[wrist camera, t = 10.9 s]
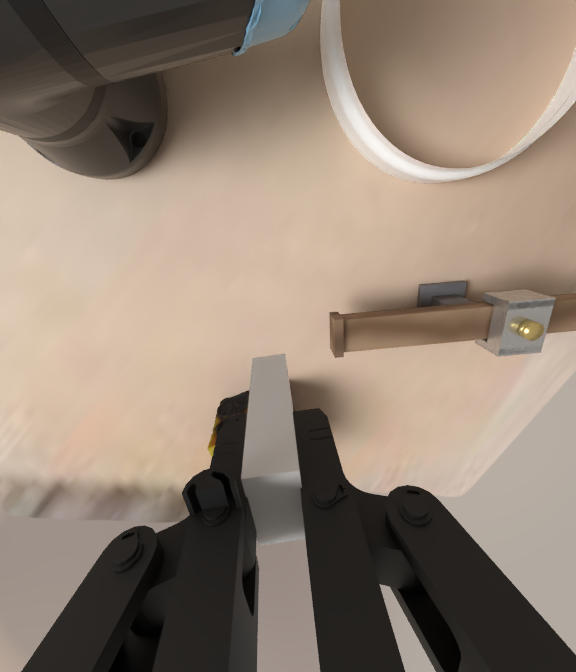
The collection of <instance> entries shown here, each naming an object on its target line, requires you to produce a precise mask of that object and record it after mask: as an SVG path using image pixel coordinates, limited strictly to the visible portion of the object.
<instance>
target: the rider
mask: <svg viewBox="0 0 576 672" xmlns="http://www.w3.org/2000/svg"><path fill="white" fill-rule="evenodd" d="M555 299H556V298H555V297H552V296H548V295H544V294H541V293H537V292H534V291H530V290H526V289H521V290H510V291H499V292H488V293H484V294H483V299H482V300H483V301H486V302H488V303H491V304H493V305H494V309H493V314H492V319H491V324H490V329H489V334H488V339H481V340H475V343H476V344H478V345H479V346H481V347H483V348H484V349H486V350H488V351H489V352H491V353H493V354H494V355H496V356H509V355H519V354H530V353H540V352H541V349H542V346H543V342H544V338H545V335H546V331H547V328H548V324H549V320H550V317H551V313H552V309H553V306H554V302H555Z"/></svg>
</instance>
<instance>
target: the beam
mask: <svg viewBox="0 0 576 672" xmlns="http://www.w3.org/2000/svg"><path fill="white" fill-rule="evenodd" d="M466 285H467V282H465V281H455V282H444V283H432V284H421V285H419V292H418V302H417V308H408V309H397V310H385V311H374V312H363V313H352V314H341V315H340V314H339V313H338V312H330V348H331V350H332V352H333V355H334V357H335V358H337V357H344V352H351V351H362V350H373V349H384V348H394V347H405V346H416V345H427V344H437V343H448V342H459V341H470V340H481V339H488V334H489V329H490V324H491V319H492V314H493V309H494V305H493V304H491V303H488V302H475V303H474V302H472V301H470V300H467V299H465V291H466ZM552 297H555V298H556V299H555V302H554V306H553V309H552V313H551V317H550V320H549V324H548V328H547V331H546V333H556V332H567V331H576V294H565V295H553V296H552Z"/></svg>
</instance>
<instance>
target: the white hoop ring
mask: <svg viewBox="0 0 576 672" xmlns="http://www.w3.org/2000/svg"><path fill="white" fill-rule="evenodd" d="M320 50H321V63H322V69H323V76H324V81H325V85H326V89H327V94H328V97H329V100H330V103H331V106H332V108H333V111H334V113H335V115H336V118H337V120H338V122H339V124H340V126H341V127H342V129H343V131H344V133H345V134H346V136H347V137H348V139H349V140H350V141H351V143H352V144H353V146H354V147H355V148H356V149H357V150H358V151H359V152H360V153H361V155H362V156H364V157H365V158H366V159H367V160H368V161H369V162H370V163H372V164H373V165H374V166H376V167H377V168H379V169H380V170H382V171H384V172H386V173H387V174H389V175H391V176H394V177H397V178H399V179H402V180H406V181H410V182H415V183H424V184H432V183H444V182H451V181H455V180H460V179H465V178H469V177H473V176H477V175H479V174H482V173H485V172H487V171H490V170H492V169H494V168H496V167H498V166H500V165H502V164H504V163H506V162H507V161H509V160H511V159H512V158H514V157H515V156H517V155H518V154H520V153H521V152H522V151H524V150H525V149H526V148H528V147H529V146H530V145H531V144H532V143H534V142H535V141H536V140H537V139H538V138H539V137H540V136H541V135H543V134H544V133H545V132H546V131H547V130H548V129H549V128H551V127H552V126H553V125H554V124H555V123H556V122H557V121H558V120H559V119H560V118H561V117H562V116H563V115H564V114H565V113H566V112H567V111H568V109H569V108H570V107H571V106H572V105H573V104H574V102H575V101H576V48H575V51H574V54H573V56H572V59H571V62H570V64H569V67H568V69H567V71H566V74H565V76H564V78H563V80H562V82H561V84H560V86H559V88H558V90H557V92H556V94H555V95H554V97H553V99H552V100H551V102H550V104H549V105H548V107H547V109H546V110H545V111H544V113H543V114H542V116H541V117H540V118H539V120H538V121H537V122H536V124H535V125H534V126H533V127H532V128H531V130H530V131H529V132H528V133H527V134H526V135H525V136H524V137H523V138H522V139H521V140H520V141H519V143H518V144H516V145H515V146H514V147H513V148H512V149H511V150H510V151H509V152H507V153H506V154H505V155H504V156H502V157H501V158H499V159H497V160H495V161H492V162H490V163H487V164H484V165H481V166H478V167H470V168H443V167H437V166H433V165H429V164H426V163H423V162H421V161H418V160H415V159H414V158H412V157H410V156H408V155H406V154H404V153H403V152H402V151H400V150H399V149H398V148H396V147H395V146H393V145H392V144H391V143H390V142H389V141H388V140H387V139H386V138H385V137H384V136H383V135H382V134H381V133H380V131H379V130H378V129H377V128H376V127H375V126H374V124H373V123H372V121H371V120H370V118H369V117H368V115H367V114H366V112H365V110H364V108H363V106H362V104H361V102H360V101H359V99H358V96H357V94H356V91H355V89H354V86H353V84H352V81H351V78H350V74H349V71H348V68H347V64H346V59H345V54H344V49H343V42H342V34H341V22H340V0H323V1H322V10H321V20H320Z"/></svg>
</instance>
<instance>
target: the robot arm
mask: <svg viewBox="0 0 576 672" xmlns="http://www.w3.org/2000/svg"><path fill="white" fill-rule="evenodd" d="M309 2H310V0H0V130H2V131H5V132H8V133H11V134H14V135H18V136H19V137H21V138H22V139H23V140H25V141H26V142H27V143H28V144H29V145H30V146H31V147H32V148H33V149H34V150H36V151H37V152H38V153H39V154H41V155H42V156H43V157H44V158H46V159H47V160H49V161H50V162H52V163H54V164H55V165H57V166H59V167H61V168H63V169H65V170H68V171H70V172H73V173H76V174H79V175H83V176H88V177H92V178H97V179H117V178H122V177H126V176H128V175H131V174H133V173H135V172H137V171H138V170H140V169H141V168H143V167H144V166H145V165H146V164H147V163H148V162H149V161H150V160H151V159H152V157H153V156H154V155H155V153H156V151H157V150H158V148H159V146H160V144H161V141H162V138H163V135H164V132H165V127H166V120H167V99H166V92H165V87H164V82H163V79H162V75H161V72H160V71H163V70H167V69H171V68H175V67H178V66H182V65H186V64H190V63H194V62H198V61H201V60H205V59H209V58H213V57H217V56H221V55H224V54H228V53H231V54H232V55H233V56H238V55H242V54H243V53H245V52H246V51H247V49H248V48H249V47H252V46H255V45H258V44H261V43H265V42H268V41H271V40H274V39H277V38H280V37H282V36H285V35H286V34H288V33H289V32H291V31H292V30H293V29H294V28H295V27H296V25H297V24H298V22H299V21H300V19H301V17H302V16H303V14H304V12H305V11H306V9H307V7H308V4H309ZM182 495H183V498H184V501H185V503H186V506H187V508H188V511H189V513H190V515H189V516H188V517H187V518H186V519H184V520H183V521H181V522H179V523H177V524H175V525H173V526H171V527H169V528H167V529H165V530H162V531H160V532H158V533H155V532H154V530H153V529H152V528H150V527H147V526H137V527H133V528H131V529H129V530H126V531H124V532H123V533H121V534H120V535H119V536H117V537H116V538H115V539H114V540H112V542H111V543H110V544H109V545H108V547H107V548H106V549H105V550H104V551H103V552H102V554H101V555H100V557H99V558H98V560H97V561H96V563H95V564H94V566H93V567H92V569H91V570H90V572H89V573H88V574H87V576H86V577H85V579H84V580H83V582H82V583H81V585H80V586H79V588H78V589H77V591H76V592H75V594H74V595H73V597H72V598H71V599H70V601H69V603H68V604H67V605H66V607H65V608H64V610H63V612H62V613H61V614H60V616H59V617H58V619H57V620H56V622H55V623H54V624H53V626H52V627H51V629H50V630H49V632H48V633H47V635H46V636H45V638H44V639H43V641H42V642H41V643H40V645H39V646H38V648H37V649H36V651H35V652H34V654H33V656H32V657H31V658H30V660H29V661H28V663H27V664H26V666H25V667H24V668H23V670H22V671H21V672H257V632H258V585H259V567H258V561H257V556H256V537H257V541H258V544H259V545H266V544H273V543H279V542H286V541H293V540H299V539H306V547H307V557H308V565H309V574H310V583H311V592H312V601H313V610H314V619H315V628H316V636H317V645H318V654H319V663H320V671H321V672H405V670H404V666H403V663H402V659H401V656H400V653H399V649H398V646H397V642H396V639H395V636H394V632H393V629H392V626H391V622H390V619H389V616H388V612H387V609H386V606H385V602H384V599H383V595H382V592H381V588H380V585H379V584H382V585H386V586H390V587H391V590H392V591H393V593H394V595H395V597H396V599H397V601H398V602H399V604H400V606H401V608H402V610H403V612H404V613H405V615H406V617H407V619H408V621H409V623H410V625H411V626H412V628H413V630H414V632H415V634H416V636H417V637H418V639H419V641H420V643H421V645H422V647H423V648H424V650H425V652H426V654H427V656H428V658H429V659H430V661H431V663H432V665H433V667H434V669H435V671H436V672H576V655H575V654H574V653H573V652H572V650H571V649H570V648H569V647H568V646H567V645H566V644H565V643H564V641H563V640H562V639H561V638H560V637H559V636H558V634H556V632H555V631H554V630H553V629H552V628H551V627H550V625H549V624H548V623H547V622H546V621H545V620H544V619H543V618H542V616H541V615H540V614H539V613H538V612H537V611H536V610H535V608H534V607H533V606H532V605H531V604H530V603H529V602H528V601H527V599H526V598H525V597H524V596H523V595H522V594H521V593H520V592H519V590H518V589H517V588H516V587H515V586H514V585H513V584H512V582H511V581H510V580H509V579H508V578H507V577H506V576H505V575H504V574H503V572H502V571H501V570H500V569H499V568H498V567H497V565H496V564H495V563H494V562H493V561H492V560H491V559H490V558H489V557H488V555H487V554H486V553H485V552H484V551H483V550H482V548H481V547H480V546H479V545H478V544H477V543H476V542H475V541H474V540H473V539H472V537H471V536H470V535H469V534H468V533H467V532H466V530H465V529H464V528H463V527H462V526H461V525H460V524H459V523H458V521H457V520H456V519H455V518H454V517H453V516H452V515H451V513H450V512H449V511H448V510H447V509H446V508H445V507H444V506H443V504H442V503H441V502H440V501H439V500H438V499H437V498H436V497H435V496H433V495H432V494H431V493H430V492H428V491H426V490H424V489H422V488H420V487H416V486H409V485H406V486H401V487H397V488H395V489H394V490H393V491H391V492H390V493H389V495H388V496H381V495H375V494H370V493H366V492H363V491H361V490H359V489H357V488H355V487H354V486H353V485H351V484H350V483H349V481H348V480H347V479H346V478H345V475H344V473H343V470H342V467H341V463H340V460H339V456H338V453H337V449H336V446H335V442H334V439H333V435H332V432H331V429H330V425H329V421H328V418H327V416H326V415H325V414H324V413H323V412H322V411H321V410H320V409H319V408H316V409H309V410H303V411H296V412H293V405H292V397H291V391H290V384H289V377H288V370H287V364H286V357H285V354H280V355H273V356H266V357H259V358H253V361H252V371H251V382H250V392H249V402H248V412H247V420H240V421H233V422H226V423H225V424H224V425H223V426H222V428H221V429H220V431H219V432H218V433H217V438H216V442H215V447H214V451H213V457H212V460H211V465H210V469H207V470H203V471H202V472H200V473H198V474H197V475H195V476H194V477H193V478H192V479H191V480H190V481H189V482H188V483H187V484H186V486H185V488H184V490H183V492H182Z"/></svg>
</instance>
